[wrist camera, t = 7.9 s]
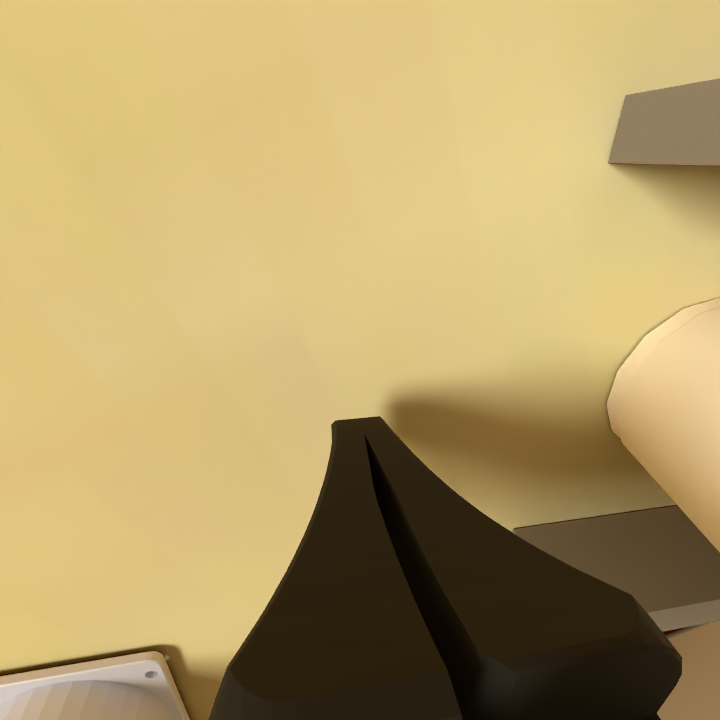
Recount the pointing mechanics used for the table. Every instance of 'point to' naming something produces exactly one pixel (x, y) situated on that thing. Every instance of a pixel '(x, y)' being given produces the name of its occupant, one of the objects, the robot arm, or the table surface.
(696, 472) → the foam cup
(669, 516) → the bay
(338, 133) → the table surface
